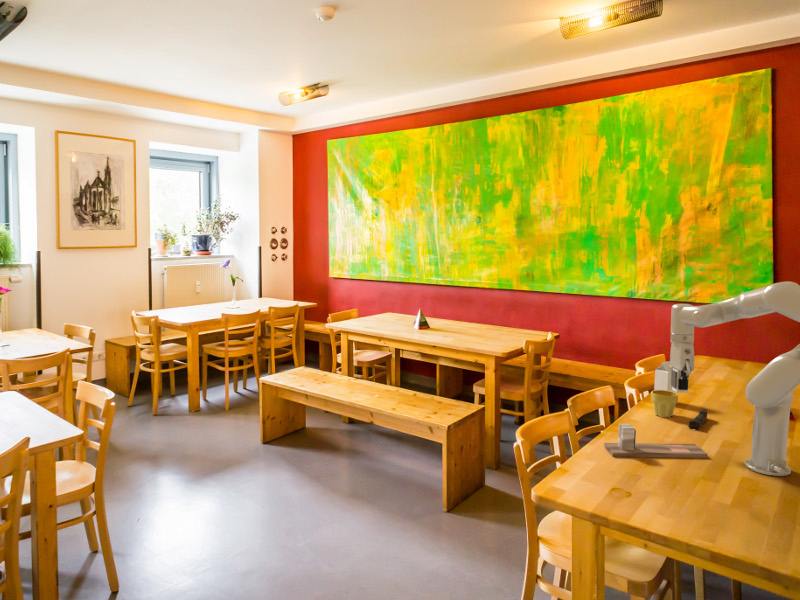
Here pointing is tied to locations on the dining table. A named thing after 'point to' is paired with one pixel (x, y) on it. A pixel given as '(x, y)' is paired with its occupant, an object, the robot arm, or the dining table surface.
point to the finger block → (676, 380)
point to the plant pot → (664, 402)
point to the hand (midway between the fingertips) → (680, 387)
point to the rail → (649, 447)
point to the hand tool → (698, 420)
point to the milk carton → (663, 377)
